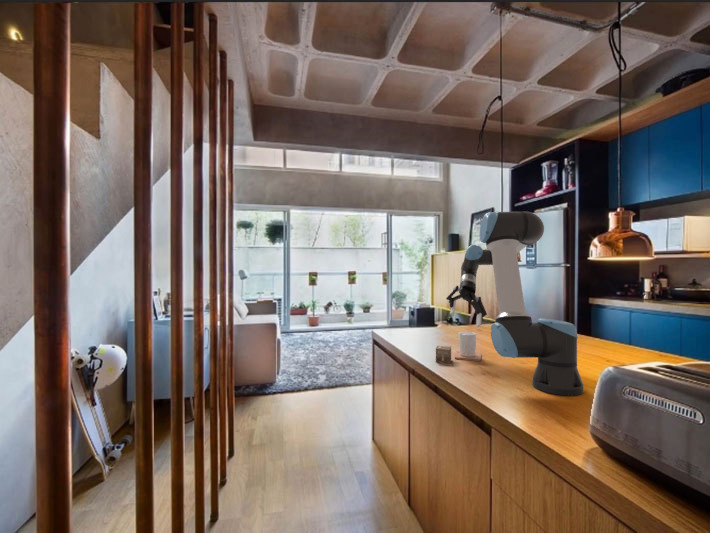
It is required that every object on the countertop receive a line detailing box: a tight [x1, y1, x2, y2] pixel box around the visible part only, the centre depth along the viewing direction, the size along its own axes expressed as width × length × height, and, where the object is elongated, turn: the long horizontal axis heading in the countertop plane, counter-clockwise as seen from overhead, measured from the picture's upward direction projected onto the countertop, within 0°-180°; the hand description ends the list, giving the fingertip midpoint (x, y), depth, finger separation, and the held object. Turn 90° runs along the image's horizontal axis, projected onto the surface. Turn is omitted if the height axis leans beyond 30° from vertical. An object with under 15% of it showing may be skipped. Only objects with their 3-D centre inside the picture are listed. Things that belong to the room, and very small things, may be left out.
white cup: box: [458, 331, 477, 357], centre depth 159 cm, size 8×8×10 cm
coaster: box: [454, 351, 482, 362], centre depth 159 cm, size 11×11×1 cm
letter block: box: [435, 345, 452, 364], centre depth 153 cm, size 6×6×6 cm
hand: (465, 319), depth 156 cm, fingers open, 13 cm apart
